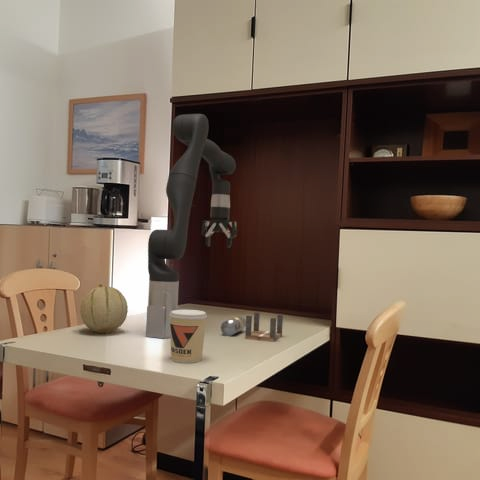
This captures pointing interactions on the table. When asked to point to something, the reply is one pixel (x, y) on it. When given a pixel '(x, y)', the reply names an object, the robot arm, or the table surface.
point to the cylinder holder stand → (263, 335)
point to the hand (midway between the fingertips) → (218, 247)
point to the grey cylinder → (233, 326)
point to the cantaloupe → (103, 309)
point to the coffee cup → (187, 335)
